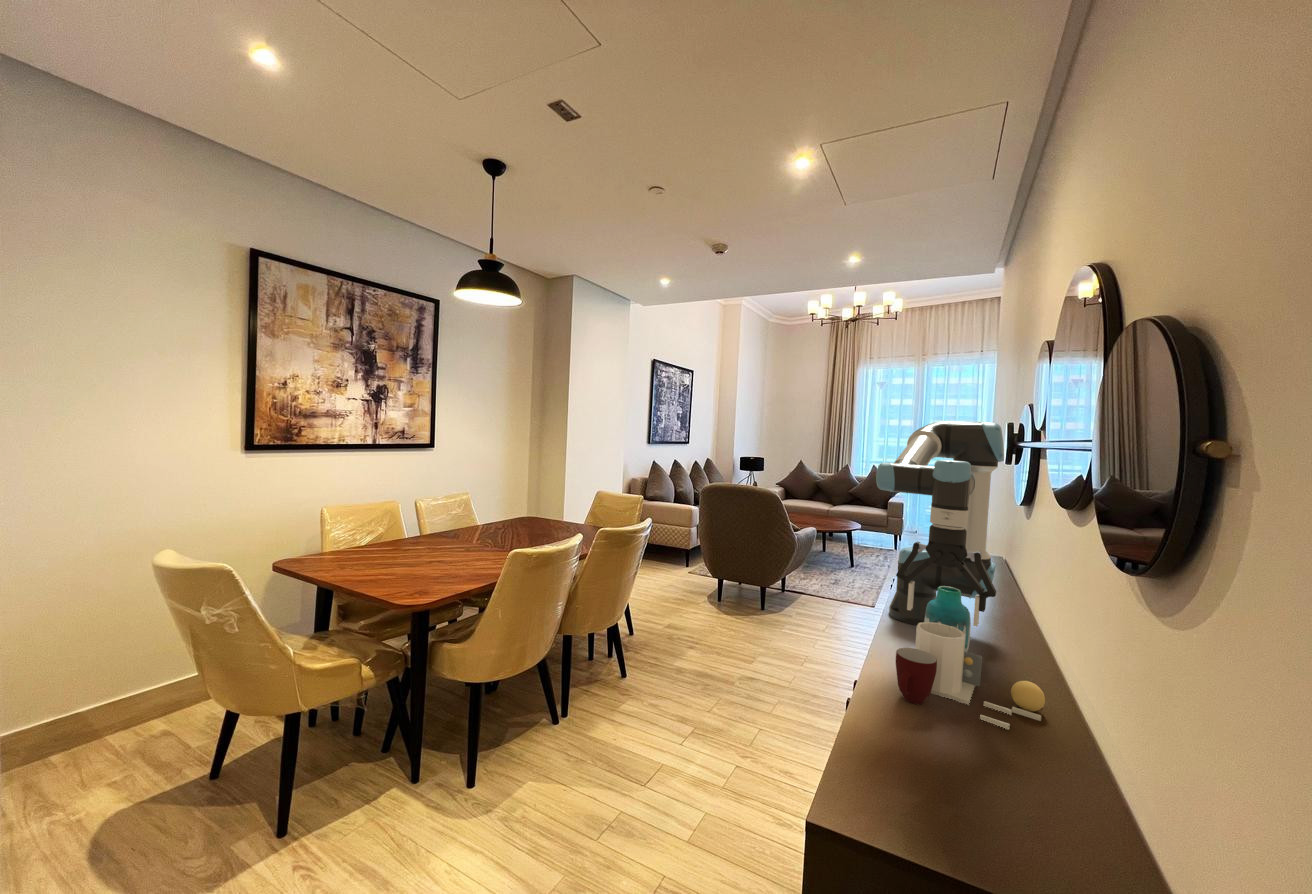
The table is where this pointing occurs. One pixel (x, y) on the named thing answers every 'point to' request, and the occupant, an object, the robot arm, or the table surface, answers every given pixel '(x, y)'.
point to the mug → (915, 674)
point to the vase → (949, 611)
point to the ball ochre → (1028, 696)
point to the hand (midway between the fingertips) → (941, 616)
